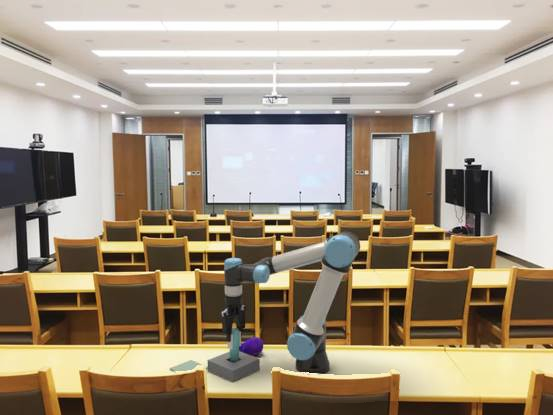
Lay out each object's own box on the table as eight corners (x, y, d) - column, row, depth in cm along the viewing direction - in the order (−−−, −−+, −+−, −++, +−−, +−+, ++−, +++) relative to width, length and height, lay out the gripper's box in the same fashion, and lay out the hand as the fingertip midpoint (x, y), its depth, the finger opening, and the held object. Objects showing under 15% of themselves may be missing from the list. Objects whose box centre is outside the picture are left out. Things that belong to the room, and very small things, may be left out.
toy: (232, 361, 218) (264, 357, 218) (229, 341, 217) (261, 337, 218) (233, 353, 227) (264, 350, 227) (231, 334, 226) (262, 330, 226)
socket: (259, 369, 206) (259, 358, 205) (232, 382, 194) (232, 370, 194) (234, 360, 217) (234, 349, 216) (207, 371, 205) (207, 360, 204)
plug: (241, 360, 205) (240, 329, 204) (234, 363, 202) (233, 331, 201) (234, 358, 208) (234, 327, 207) (228, 361, 205) (227, 329, 204)
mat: (208, 368, 207) (208, 367, 207) (186, 377, 199) (186, 376, 199) (191, 361, 215) (191, 359, 215) (169, 369, 207) (169, 368, 207)
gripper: (241, 288, 211) (242, 339, 213) (212, 296, 199) (213, 350, 201) (253, 291, 206) (254, 343, 208) (224, 300, 194) (225, 355, 196)
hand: (234, 346), depth 205 cm, fingers closed on plug, 4 cm apart
